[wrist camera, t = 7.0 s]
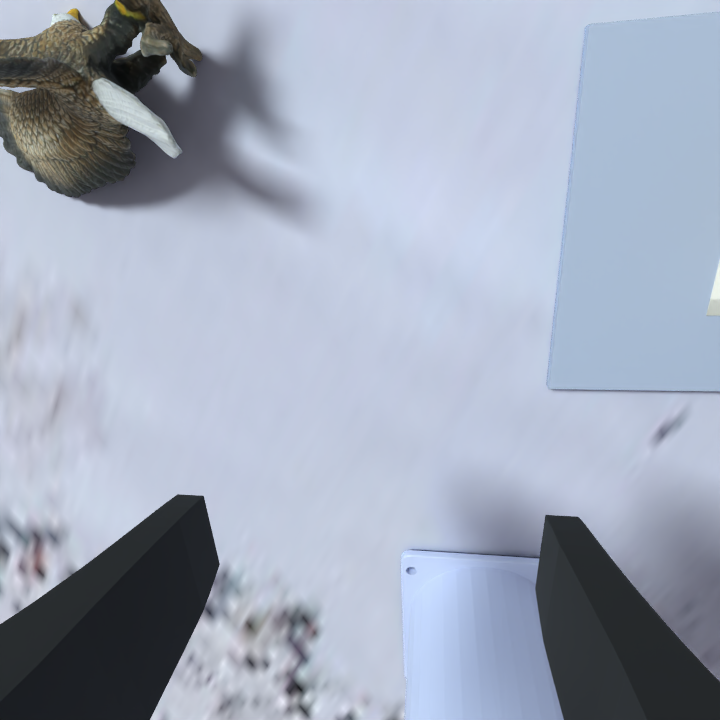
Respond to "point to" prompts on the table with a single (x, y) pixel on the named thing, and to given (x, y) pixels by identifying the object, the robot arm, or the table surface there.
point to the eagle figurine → (87, 94)
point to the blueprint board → (643, 212)
